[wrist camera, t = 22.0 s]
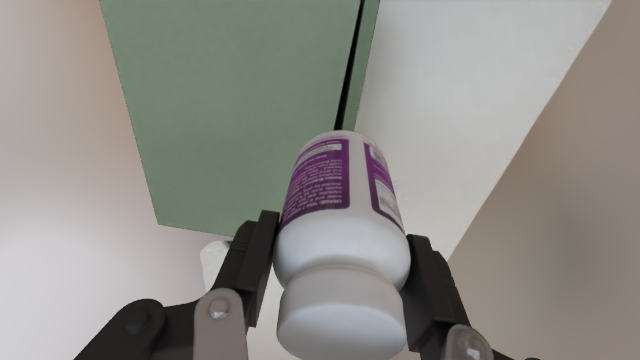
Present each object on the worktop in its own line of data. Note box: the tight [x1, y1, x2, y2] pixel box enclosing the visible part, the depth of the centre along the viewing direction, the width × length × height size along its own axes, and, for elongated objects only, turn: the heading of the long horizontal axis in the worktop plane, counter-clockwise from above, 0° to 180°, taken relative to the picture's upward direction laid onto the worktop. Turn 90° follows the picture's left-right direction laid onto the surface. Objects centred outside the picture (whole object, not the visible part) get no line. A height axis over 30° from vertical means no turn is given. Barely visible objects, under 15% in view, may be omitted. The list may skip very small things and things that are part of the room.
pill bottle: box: [272, 130, 411, 360], centre depth 12 cm, size 5×5×10 cm
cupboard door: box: [333, 0, 380, 132], centre depth 35 cm, size 7×26×24 cm, turn 174°
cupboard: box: [99, 0, 361, 237], centre depth 35 cm, size 18×26×24 cm
